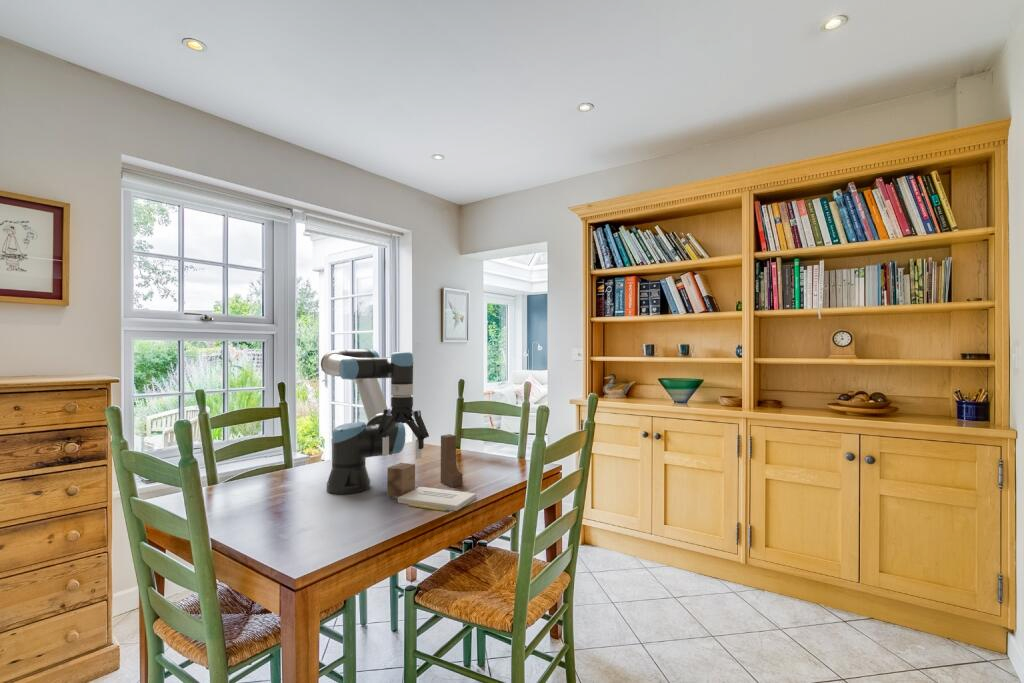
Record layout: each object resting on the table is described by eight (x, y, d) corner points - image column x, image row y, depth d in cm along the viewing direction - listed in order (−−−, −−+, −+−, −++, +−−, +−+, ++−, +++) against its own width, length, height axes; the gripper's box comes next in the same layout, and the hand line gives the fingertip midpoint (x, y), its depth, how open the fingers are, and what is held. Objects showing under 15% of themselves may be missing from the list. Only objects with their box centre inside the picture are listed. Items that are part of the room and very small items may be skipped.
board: (397, 502, 162) (397, 497, 162) (420, 491, 175) (420, 486, 175) (456, 510, 154) (456, 505, 154) (475, 498, 167) (475, 493, 167)
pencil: (408, 506, 158) (408, 503, 158) (409, 505, 159) (409, 503, 159) (448, 512, 153) (448, 509, 153) (449, 511, 154) (449, 508, 154)
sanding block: (387, 496, 168) (387, 467, 169) (400, 490, 176) (400, 462, 176) (402, 498, 166) (402, 469, 166) (415, 492, 174) (415, 464, 174)
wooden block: (462, 485, 182) (463, 437, 182) (452, 487, 179) (452, 438, 179) (450, 480, 189) (450, 434, 189) (440, 482, 186) (440, 435, 186)
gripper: (366, 395, 172) (365, 456, 172) (427, 398, 163) (427, 462, 163) (379, 394, 179) (378, 452, 179) (438, 396, 170) (438, 457, 170)
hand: (401, 456), depth 171 cm, fingers open, 13 cm apart
